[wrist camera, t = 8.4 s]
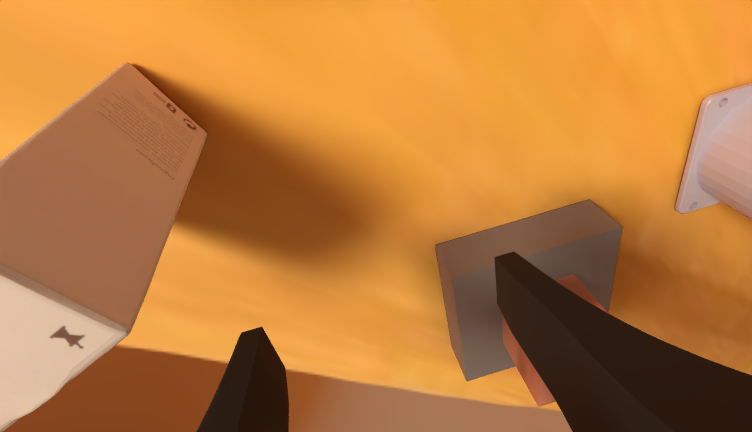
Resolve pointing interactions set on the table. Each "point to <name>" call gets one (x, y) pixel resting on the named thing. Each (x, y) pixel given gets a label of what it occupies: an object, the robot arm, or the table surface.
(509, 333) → the cube
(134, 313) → the skincare box
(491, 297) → the base block
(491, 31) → the table surface
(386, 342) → the table surface
